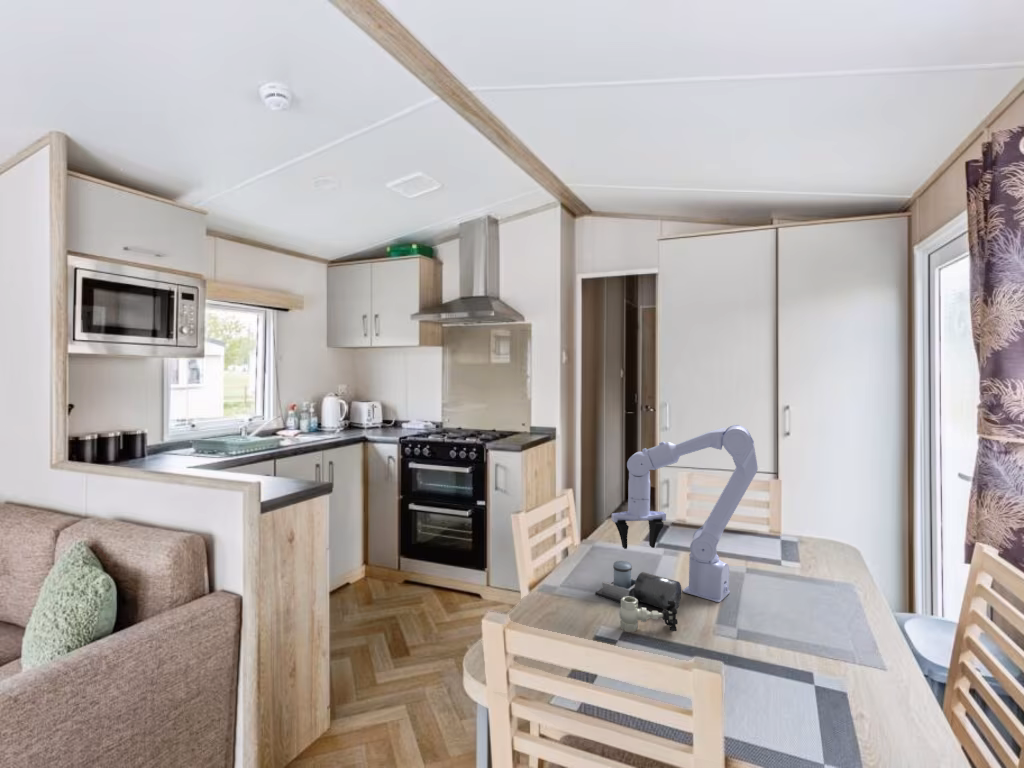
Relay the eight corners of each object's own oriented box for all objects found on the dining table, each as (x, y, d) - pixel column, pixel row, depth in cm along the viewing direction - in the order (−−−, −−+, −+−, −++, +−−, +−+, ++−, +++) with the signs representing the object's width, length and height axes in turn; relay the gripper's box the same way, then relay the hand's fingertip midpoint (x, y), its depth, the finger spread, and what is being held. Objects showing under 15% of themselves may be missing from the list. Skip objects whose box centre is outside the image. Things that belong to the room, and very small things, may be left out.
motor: (683, 603, 135) (684, 575, 134) (666, 618, 127) (666, 588, 127) (615, 583, 147) (615, 557, 147) (595, 595, 140) (595, 568, 139)
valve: (621, 635, 120) (677, 637, 119) (621, 605, 119) (678, 607, 118) (617, 620, 126) (670, 623, 125) (618, 592, 126) (671, 594, 125)
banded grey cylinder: (623, 585, 143) (623, 559, 143) (635, 592, 139) (635, 565, 139) (609, 589, 141) (609, 562, 141) (621, 596, 137) (621, 568, 137)
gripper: (617, 501, 142) (616, 553, 143) (671, 500, 144) (670, 551, 145) (609, 495, 149) (608, 544, 150) (660, 493, 151) (659, 542, 152)
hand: (638, 547), depth 148 cm, fingers open, 7 cm apart
